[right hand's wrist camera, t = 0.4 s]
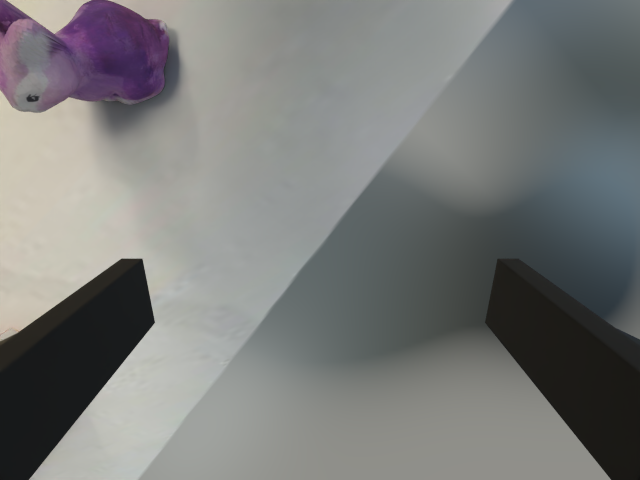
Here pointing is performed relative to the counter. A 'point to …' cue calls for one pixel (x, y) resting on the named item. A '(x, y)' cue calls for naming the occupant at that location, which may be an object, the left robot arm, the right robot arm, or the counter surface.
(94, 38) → the figurine
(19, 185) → the counter surface
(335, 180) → the counter surface
